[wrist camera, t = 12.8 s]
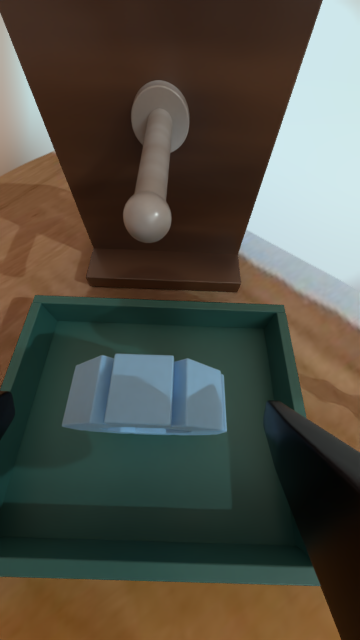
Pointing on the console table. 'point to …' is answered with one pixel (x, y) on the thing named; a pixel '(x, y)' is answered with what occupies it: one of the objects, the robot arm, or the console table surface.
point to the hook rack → (162, 123)
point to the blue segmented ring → (146, 396)
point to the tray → (149, 452)
